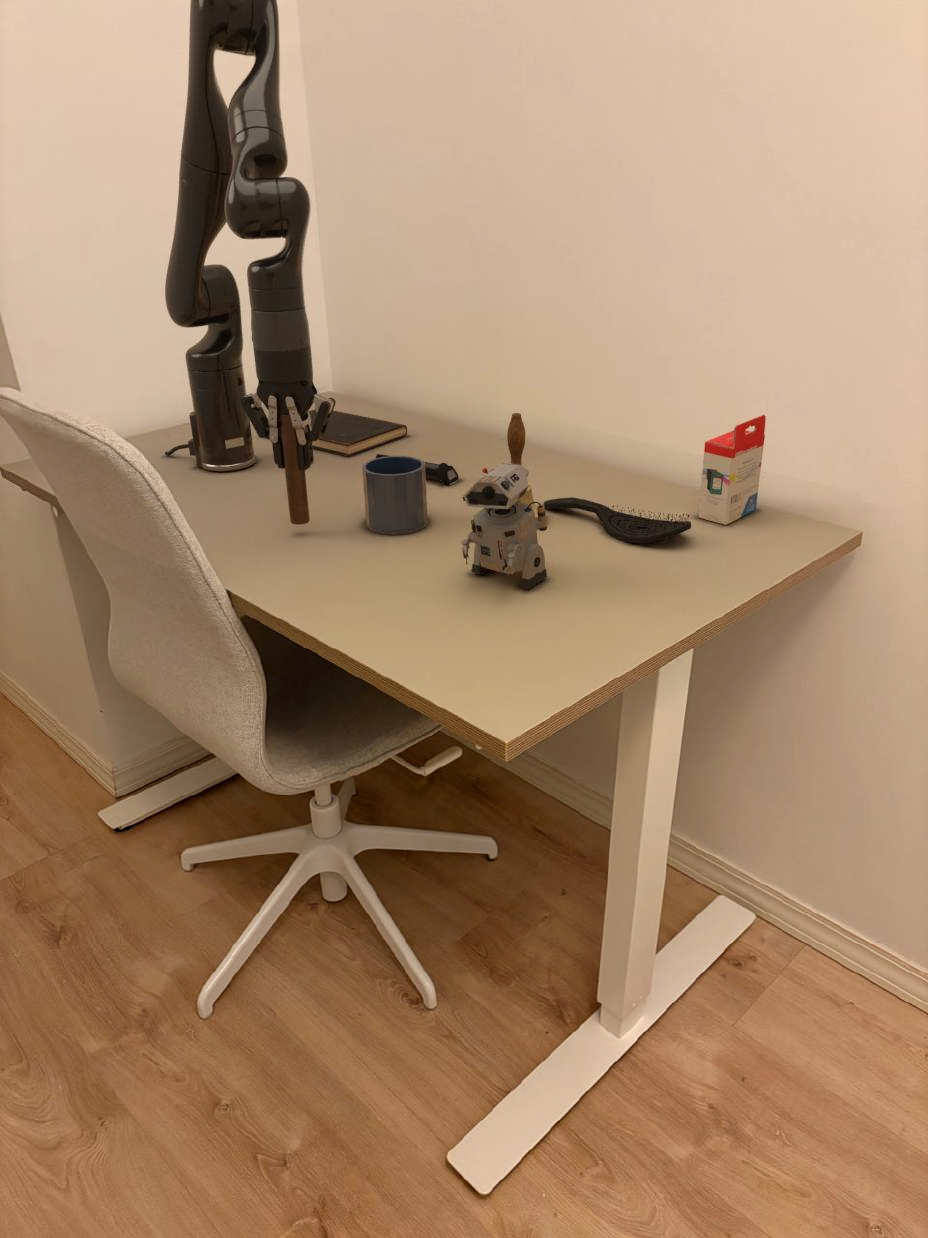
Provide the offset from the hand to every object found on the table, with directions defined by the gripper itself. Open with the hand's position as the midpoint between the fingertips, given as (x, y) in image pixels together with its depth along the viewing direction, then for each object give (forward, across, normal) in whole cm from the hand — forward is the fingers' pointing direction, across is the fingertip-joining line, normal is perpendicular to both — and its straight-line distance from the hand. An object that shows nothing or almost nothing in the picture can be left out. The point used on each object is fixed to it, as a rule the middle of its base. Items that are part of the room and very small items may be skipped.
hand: (294, 467), depth 136 cm
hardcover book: (+11, +15, -48) cm, 51 cm away
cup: (+10, -12, -7) cm, 17 cm away
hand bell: (+10, -29, -12) cm, 33 cm away
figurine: (+10, -32, +10) cm, 35 cm away
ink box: (+10, -59, -21) cm, 64 cm away
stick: (+8, 0, 0) cm, 8 cm away
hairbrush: (+10, -43, -13) cm, 46 cm away
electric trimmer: (+10, -8, -28) cm, 31 cm away
